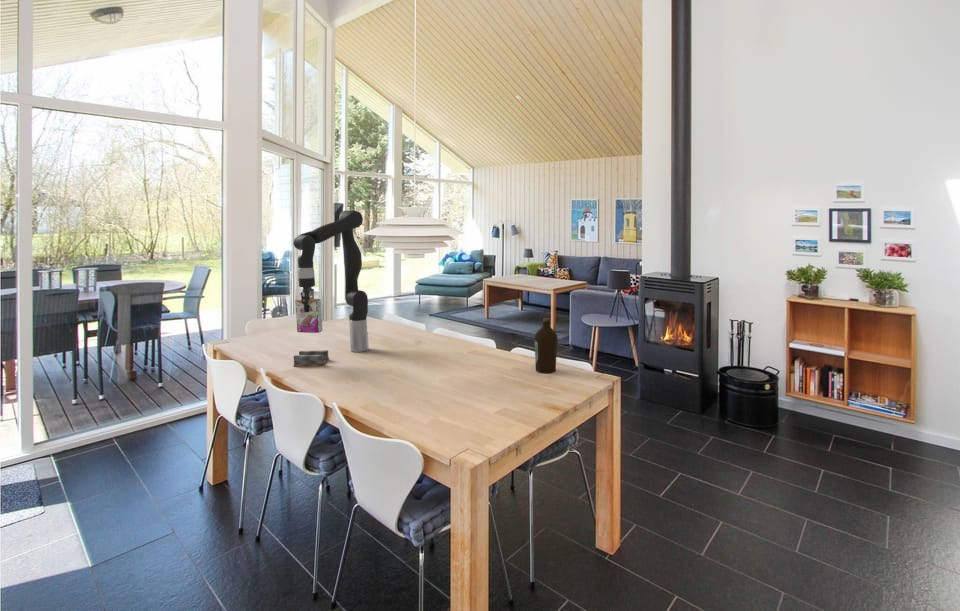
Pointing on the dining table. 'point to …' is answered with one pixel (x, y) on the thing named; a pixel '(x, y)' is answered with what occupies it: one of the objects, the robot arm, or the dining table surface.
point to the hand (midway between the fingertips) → (308, 311)
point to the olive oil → (545, 348)
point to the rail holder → (311, 358)
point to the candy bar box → (309, 316)
